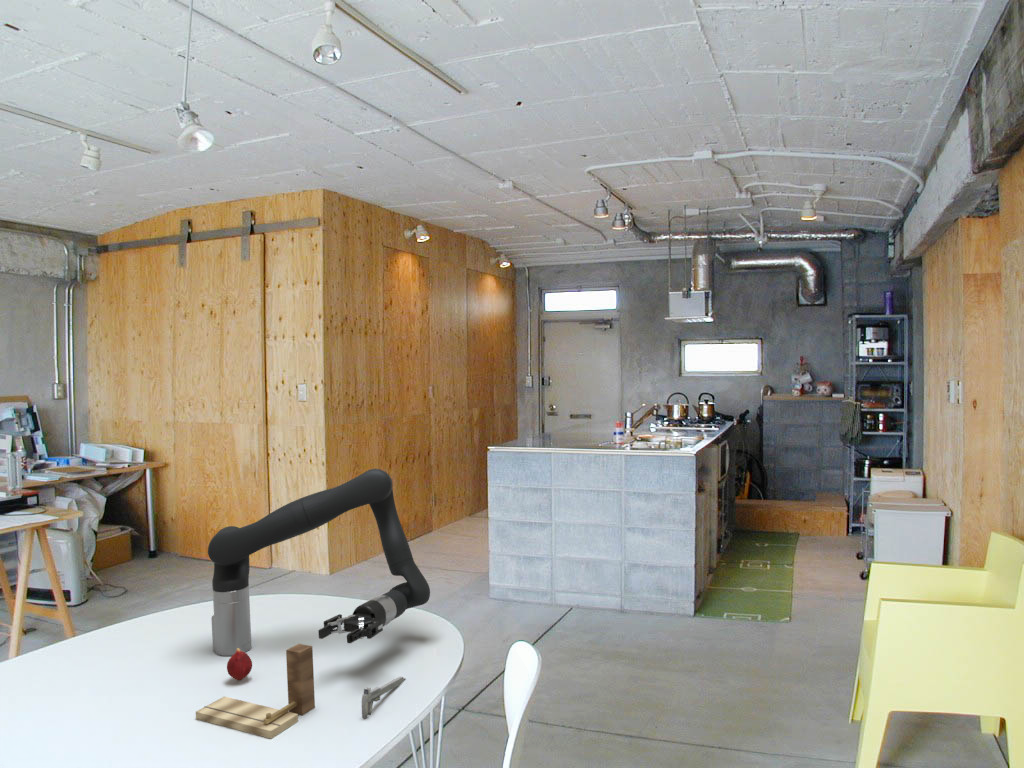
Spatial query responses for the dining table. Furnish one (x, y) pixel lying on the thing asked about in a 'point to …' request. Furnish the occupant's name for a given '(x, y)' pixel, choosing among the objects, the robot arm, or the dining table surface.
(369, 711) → the caliper
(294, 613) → the dining table surface
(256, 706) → the board
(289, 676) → the block
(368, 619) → the robot arm
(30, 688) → the dining table surface
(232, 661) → the onion
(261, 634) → the dining table surface
